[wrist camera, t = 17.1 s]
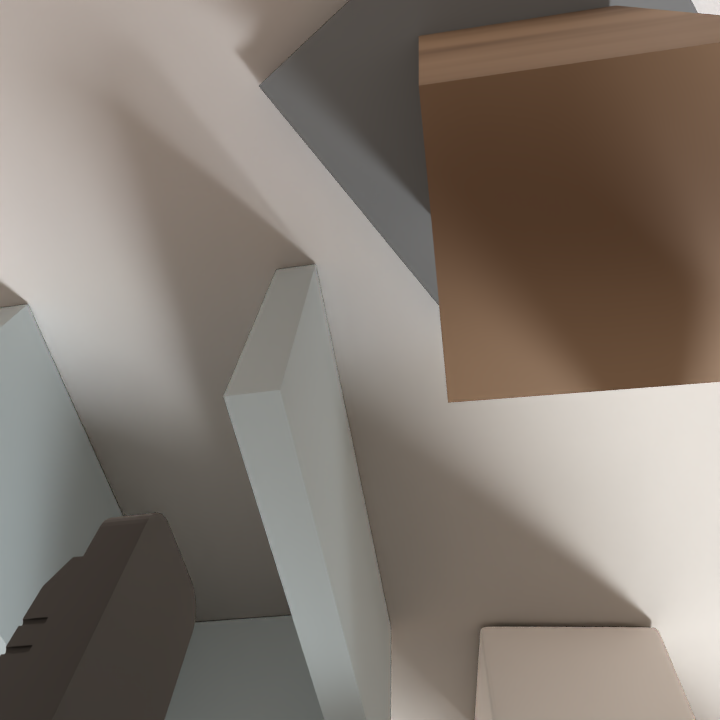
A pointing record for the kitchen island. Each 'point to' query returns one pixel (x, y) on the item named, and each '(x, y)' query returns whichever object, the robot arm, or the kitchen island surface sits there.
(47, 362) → the shelf bay
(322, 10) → the kitchen island surface
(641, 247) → the walnut block
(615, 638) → the milk carton
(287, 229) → the kitchen island surface
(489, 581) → the kitchen island surface
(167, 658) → the robot arm
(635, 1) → the slate pad
